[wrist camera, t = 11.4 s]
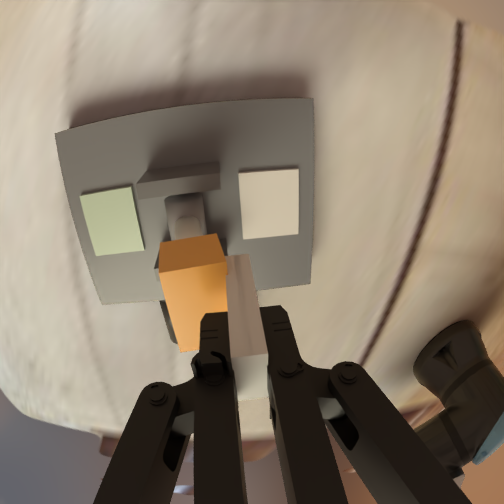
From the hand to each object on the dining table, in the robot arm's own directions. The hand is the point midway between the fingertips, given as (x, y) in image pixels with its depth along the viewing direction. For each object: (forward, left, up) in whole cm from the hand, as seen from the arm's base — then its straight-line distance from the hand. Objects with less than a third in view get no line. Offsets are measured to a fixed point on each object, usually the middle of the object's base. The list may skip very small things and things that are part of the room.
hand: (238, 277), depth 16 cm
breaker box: (+3, +4, -15) cm, 16 cm away
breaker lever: (+4, 0, -11) cm, 12 cm away
